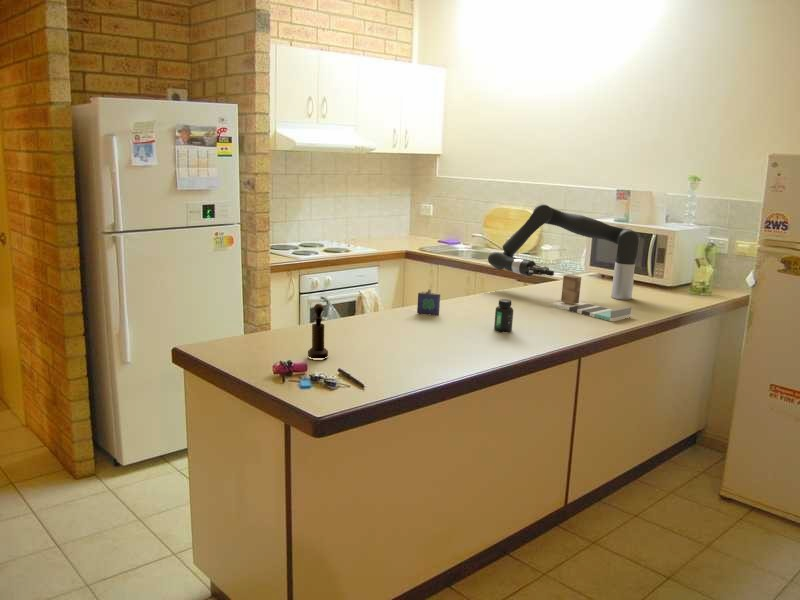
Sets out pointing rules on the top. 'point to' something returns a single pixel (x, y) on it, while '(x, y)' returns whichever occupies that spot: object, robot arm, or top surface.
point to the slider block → (571, 289)
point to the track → (595, 310)
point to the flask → (428, 303)
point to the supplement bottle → (503, 316)
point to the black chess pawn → (318, 336)
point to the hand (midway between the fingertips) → (552, 273)
